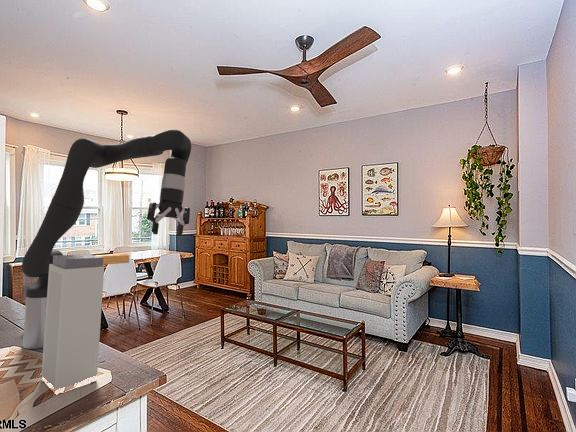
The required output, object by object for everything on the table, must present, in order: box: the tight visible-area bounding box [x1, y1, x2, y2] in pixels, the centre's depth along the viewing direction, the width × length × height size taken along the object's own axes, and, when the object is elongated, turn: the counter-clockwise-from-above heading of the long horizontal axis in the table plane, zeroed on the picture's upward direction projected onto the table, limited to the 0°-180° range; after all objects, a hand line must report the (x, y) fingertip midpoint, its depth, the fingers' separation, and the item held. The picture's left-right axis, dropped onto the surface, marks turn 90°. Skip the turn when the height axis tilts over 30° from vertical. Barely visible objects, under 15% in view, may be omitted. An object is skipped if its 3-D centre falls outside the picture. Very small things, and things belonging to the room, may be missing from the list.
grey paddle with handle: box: [53, 253, 130, 269], centre depth 92 cm, size 10×18×2 cm, turn 143°
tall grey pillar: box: [41, 264, 105, 390], centre depth 87 cm, size 12×10×32 cm
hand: (167, 235), depth 107 cm, fingers open, 8 cm apart
